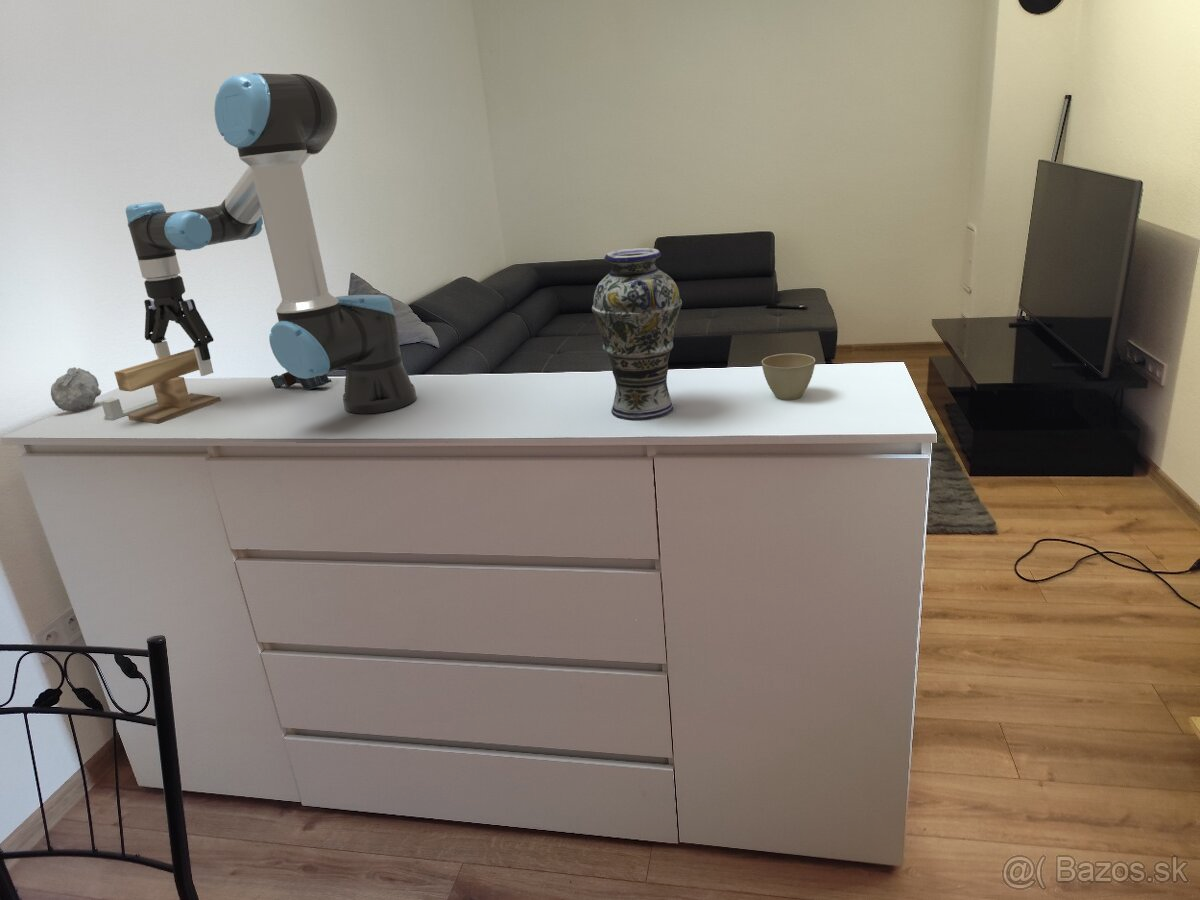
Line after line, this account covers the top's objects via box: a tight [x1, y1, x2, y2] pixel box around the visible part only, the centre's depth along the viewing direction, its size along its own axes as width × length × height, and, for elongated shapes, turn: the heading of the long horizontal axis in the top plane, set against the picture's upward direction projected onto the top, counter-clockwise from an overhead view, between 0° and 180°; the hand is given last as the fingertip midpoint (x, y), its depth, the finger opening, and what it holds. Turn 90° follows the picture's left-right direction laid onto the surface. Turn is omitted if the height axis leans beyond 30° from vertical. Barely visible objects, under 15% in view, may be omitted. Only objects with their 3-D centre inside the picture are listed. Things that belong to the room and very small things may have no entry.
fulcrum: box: [127, 376, 222, 424], centre depth 189 cm, size 10×16×8 cm, turn 151°
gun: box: [270, 371, 332, 391], centre depth 197 cm, size 3×17×15 cm
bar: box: [114, 348, 200, 392], centre depth 187 cm, size 4×20×4 cm, turn 152°
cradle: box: [100, 397, 158, 421], centre depth 194 cm, size 3×19×4 cm, turn 151°
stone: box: [50, 367, 102, 412], centre depth 195 cm, size 9×7×10 cm
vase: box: [591, 247, 683, 421], centre depth 159 cm, size 17×17×30 cm
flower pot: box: [761, 353, 816, 401], centre depth 164 cm, size 10×10×7 cm
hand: (187, 372), depth 191 cm, fingers open, 13 cm apart
